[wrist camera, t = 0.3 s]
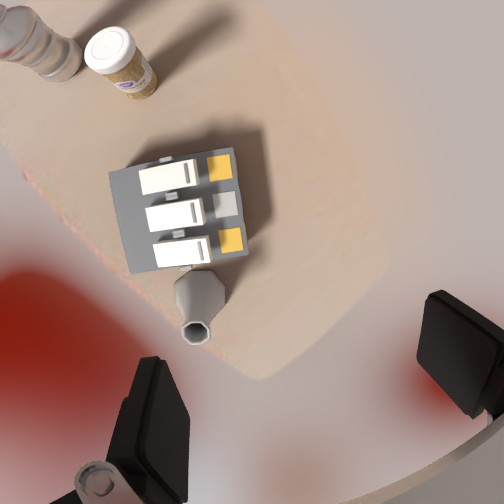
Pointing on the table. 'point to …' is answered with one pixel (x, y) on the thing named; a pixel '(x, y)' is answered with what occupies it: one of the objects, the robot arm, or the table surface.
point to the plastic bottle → (37, 45)
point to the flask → (199, 304)
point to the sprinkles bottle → (121, 62)
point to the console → (210, 189)
